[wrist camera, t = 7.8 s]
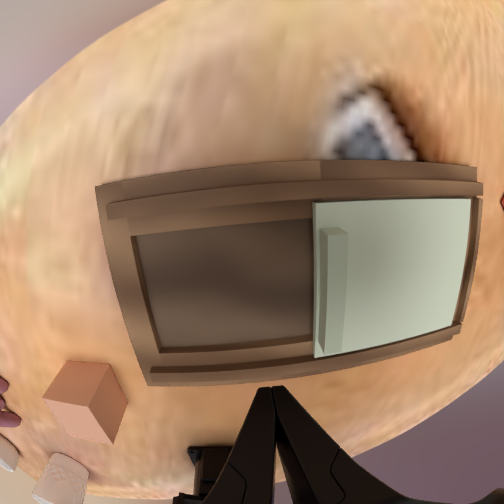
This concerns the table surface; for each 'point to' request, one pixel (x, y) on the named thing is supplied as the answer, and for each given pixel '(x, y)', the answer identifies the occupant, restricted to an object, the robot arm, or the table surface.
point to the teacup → (8, 455)
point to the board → (250, 264)
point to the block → (87, 401)
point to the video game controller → (5, 417)
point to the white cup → (61, 481)
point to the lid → (385, 269)
